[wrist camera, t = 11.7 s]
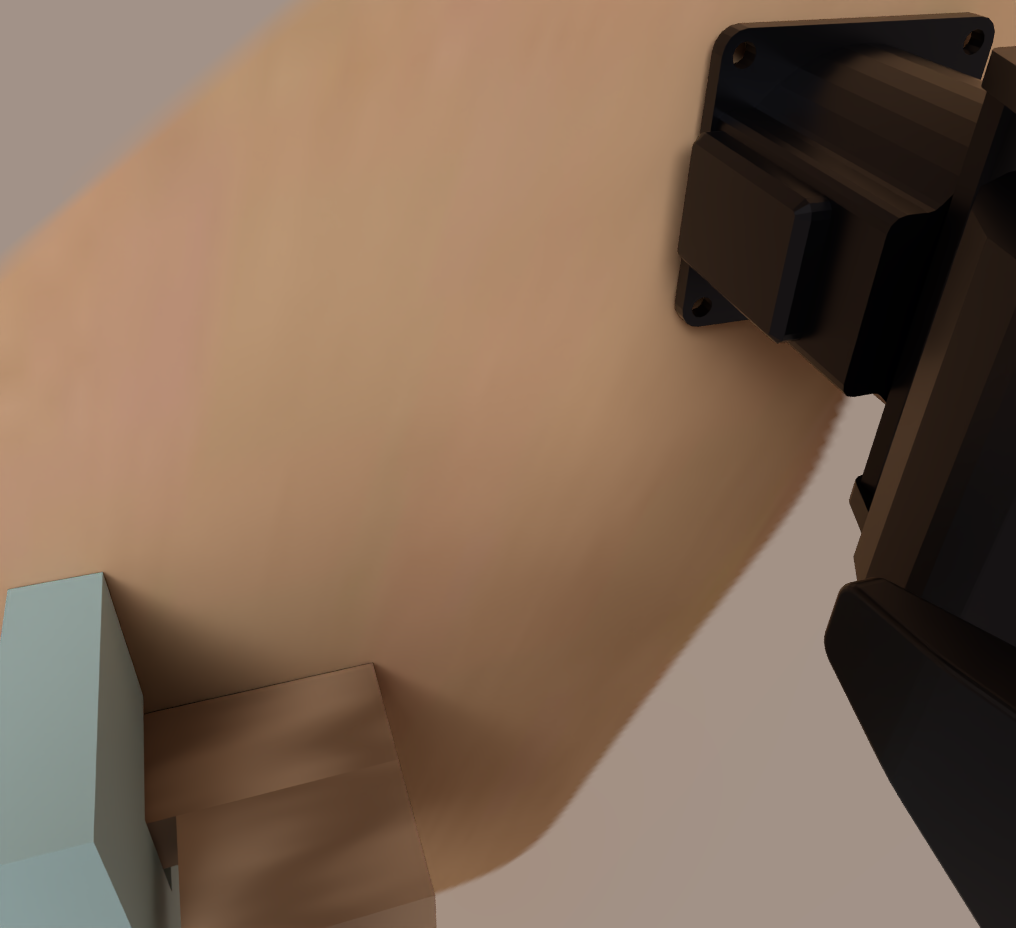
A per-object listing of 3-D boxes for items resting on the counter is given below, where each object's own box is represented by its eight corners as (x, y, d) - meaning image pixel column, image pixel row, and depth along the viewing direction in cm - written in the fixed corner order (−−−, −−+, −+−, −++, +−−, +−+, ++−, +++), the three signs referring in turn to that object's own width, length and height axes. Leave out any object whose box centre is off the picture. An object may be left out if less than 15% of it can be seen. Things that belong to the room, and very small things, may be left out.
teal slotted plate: (195, 855, 29) (210, 1105, 23) (127, 873, 28) (126, 1133, 23) (102, 572, 21) (93, 841, 16) (7, 589, 21) (-34, 873, 16)
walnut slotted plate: (372, 662, 26) (435, 895, 21) (376, 708, 27) (436, 938, 22) (-203, 792, 22) (-305, 1114, 17) (-169, 838, 24) (-254, 1152, 18)
